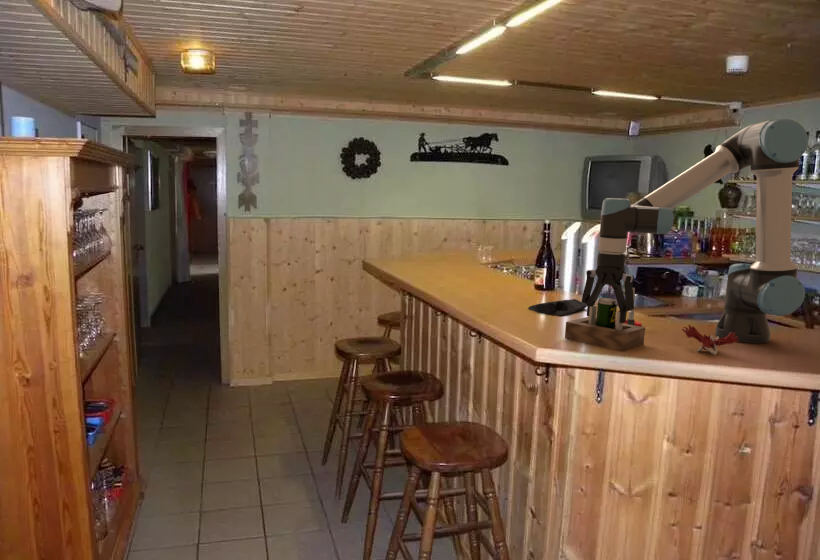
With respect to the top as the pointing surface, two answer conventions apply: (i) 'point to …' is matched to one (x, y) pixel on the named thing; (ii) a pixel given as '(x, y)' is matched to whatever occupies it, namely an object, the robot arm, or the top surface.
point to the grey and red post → (632, 315)
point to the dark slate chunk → (559, 307)
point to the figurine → (710, 339)
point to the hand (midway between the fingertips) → (604, 330)
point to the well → (605, 335)
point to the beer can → (606, 313)
